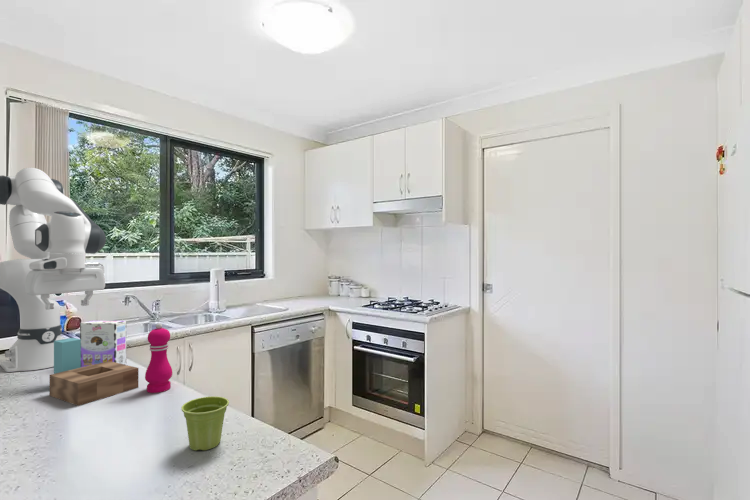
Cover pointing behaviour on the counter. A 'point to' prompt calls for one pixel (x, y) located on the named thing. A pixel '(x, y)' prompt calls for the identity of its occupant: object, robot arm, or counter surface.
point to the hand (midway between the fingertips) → (67, 307)
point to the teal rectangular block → (67, 354)
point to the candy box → (103, 342)
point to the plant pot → (205, 421)
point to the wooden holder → (93, 382)
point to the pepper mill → (158, 361)
